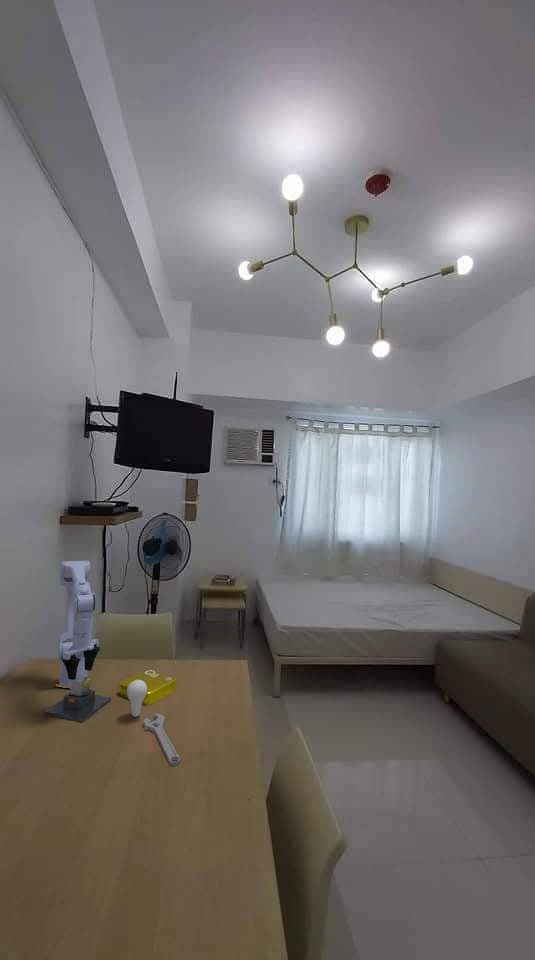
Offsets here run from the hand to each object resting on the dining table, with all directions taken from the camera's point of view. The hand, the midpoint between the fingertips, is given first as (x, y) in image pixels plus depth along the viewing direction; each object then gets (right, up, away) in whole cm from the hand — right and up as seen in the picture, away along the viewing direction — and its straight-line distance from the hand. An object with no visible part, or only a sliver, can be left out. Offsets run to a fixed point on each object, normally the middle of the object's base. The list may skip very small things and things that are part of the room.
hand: (80, 674), depth 134 cm
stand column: (0, -9, 0) cm, 9 cm away
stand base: (0, -11, 0) cm, 11 cm away
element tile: (+18, -13, +12) cm, 26 cm away
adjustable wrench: (+30, -12, -16) cm, 36 cm away
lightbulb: (+19, -11, -4) cm, 23 cm away
